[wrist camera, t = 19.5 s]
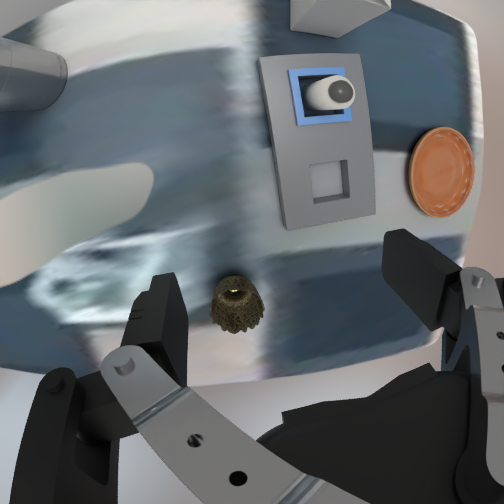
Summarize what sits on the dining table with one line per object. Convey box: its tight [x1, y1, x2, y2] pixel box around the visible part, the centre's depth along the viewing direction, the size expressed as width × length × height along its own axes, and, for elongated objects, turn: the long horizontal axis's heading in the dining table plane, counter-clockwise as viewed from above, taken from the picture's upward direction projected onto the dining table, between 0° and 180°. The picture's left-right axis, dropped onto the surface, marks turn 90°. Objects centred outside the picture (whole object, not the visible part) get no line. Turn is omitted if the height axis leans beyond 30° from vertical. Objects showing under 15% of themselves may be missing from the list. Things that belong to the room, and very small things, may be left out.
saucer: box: [409, 127, 475, 218], centre depth 41 cm, size 16×16×3 cm
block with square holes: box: [257, 53, 376, 231], centre depth 37 cm, size 14×24×3 cm, turn 10°
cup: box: [210, 275, 265, 334], centre depth 43 cm, size 8×7×8 cm
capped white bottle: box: [300, 75, 355, 111], centre depth 31 cm, size 4×4×10 cm
